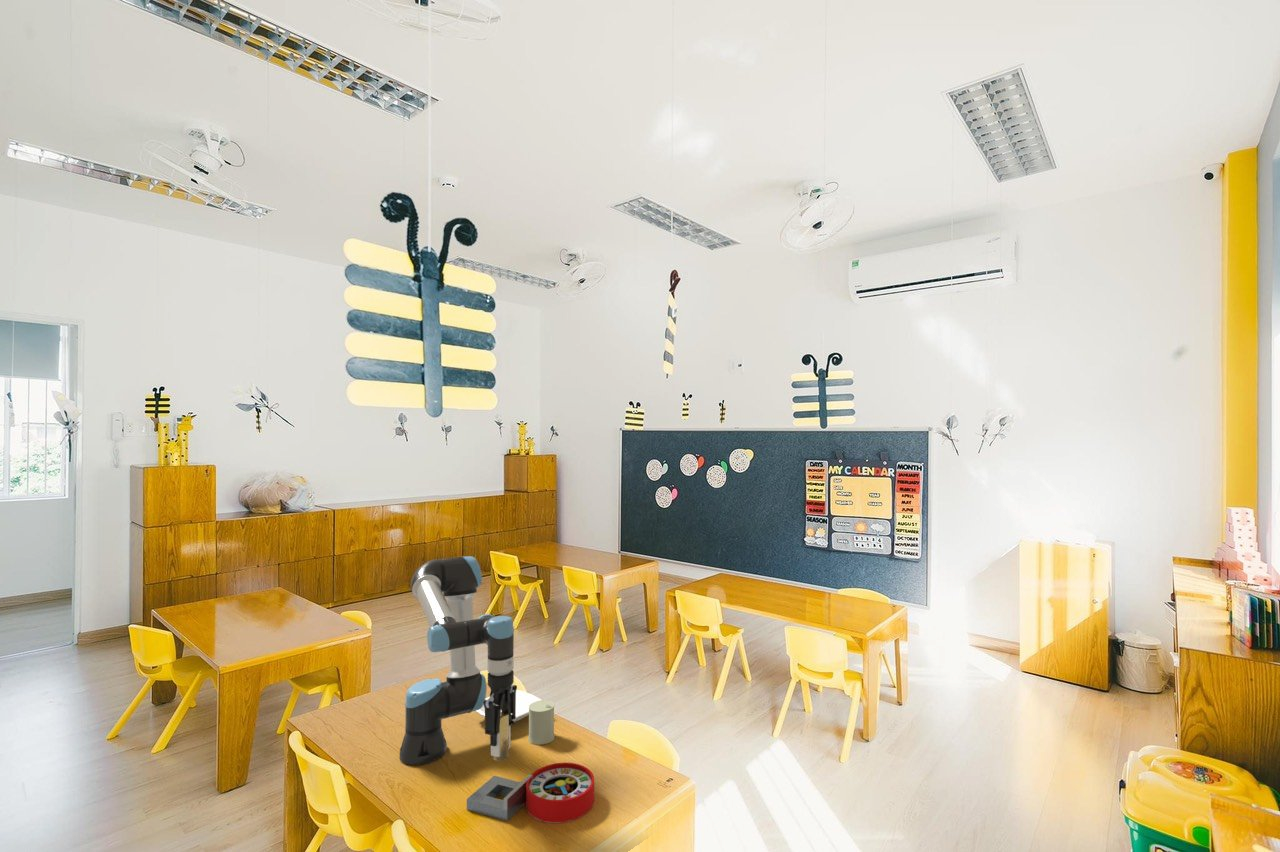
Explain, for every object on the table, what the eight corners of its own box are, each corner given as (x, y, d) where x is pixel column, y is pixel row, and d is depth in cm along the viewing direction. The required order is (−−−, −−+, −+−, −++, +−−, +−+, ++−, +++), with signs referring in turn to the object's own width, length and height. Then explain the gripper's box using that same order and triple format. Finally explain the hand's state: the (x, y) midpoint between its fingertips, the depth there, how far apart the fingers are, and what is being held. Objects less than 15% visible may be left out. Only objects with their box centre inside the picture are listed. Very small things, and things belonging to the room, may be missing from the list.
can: (549, 746, 204) (549, 711, 205) (524, 743, 206) (524, 709, 206) (558, 733, 213) (558, 700, 214) (534, 730, 215) (534, 697, 215)
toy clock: (582, 756, 186) (603, 790, 167) (582, 775, 186) (603, 811, 167) (519, 771, 178) (534, 808, 159) (519, 790, 178) (534, 830, 159)
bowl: (465, 721, 223) (465, 705, 223) (514, 700, 241) (514, 686, 241) (499, 740, 208) (500, 724, 209) (550, 717, 226) (550, 702, 226)
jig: (466, 809, 169) (466, 788, 169) (494, 785, 181) (494, 765, 181) (507, 821, 163) (507, 799, 163) (532, 795, 175) (532, 775, 176)
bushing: (502, 762, 169) (502, 720, 170) (489, 759, 171) (489, 717, 171) (511, 754, 173) (511, 713, 174) (499, 751, 175) (499, 711, 176)
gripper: (493, 683, 164) (493, 769, 163) (527, 662, 180) (528, 739, 179) (471, 680, 167) (471, 763, 166) (507, 659, 183) (507, 735, 182)
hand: (500, 751), depth 172 cm, fingers closed on bushing, 4 cm apart
